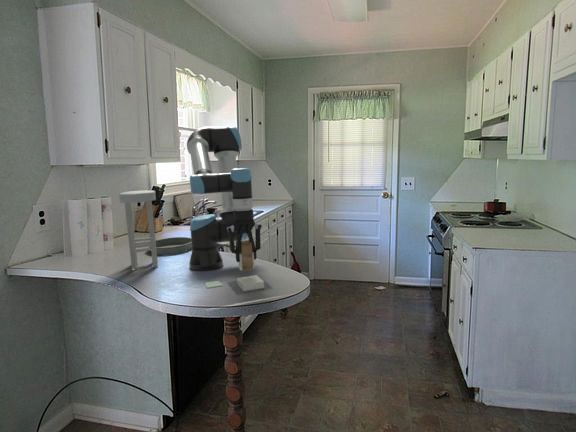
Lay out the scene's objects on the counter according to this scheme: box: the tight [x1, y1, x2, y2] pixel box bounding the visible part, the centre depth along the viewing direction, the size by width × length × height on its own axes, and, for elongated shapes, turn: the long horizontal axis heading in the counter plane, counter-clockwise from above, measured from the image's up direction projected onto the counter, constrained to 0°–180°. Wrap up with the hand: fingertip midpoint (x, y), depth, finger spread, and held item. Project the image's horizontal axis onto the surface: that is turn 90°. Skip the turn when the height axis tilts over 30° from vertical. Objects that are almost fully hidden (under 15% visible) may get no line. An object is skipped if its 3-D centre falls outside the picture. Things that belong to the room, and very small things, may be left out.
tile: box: [236, 274, 264, 291], centre depth 158 cm, size 3×8×9 cm
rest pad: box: [203, 280, 223, 290], centre depth 162 cm, size 6×6×1 cm
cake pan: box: [148, 236, 192, 255], centre depth 226 cm, size 25×25×4 cm
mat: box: [227, 276, 273, 295], centre depth 159 cm, size 15×14×1 cm
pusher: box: [240, 239, 254, 272], centre depth 160 cm, size 4×4×11 cm
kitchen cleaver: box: [218, 242, 230, 248], centre depth 233 cm, size 24×1×10 cm
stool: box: [119, 189, 159, 270], centre depth 193 cm, size 16×16×35 cm
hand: (246, 268), depth 161 cm, fingers closed on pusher, 4 cm apart
